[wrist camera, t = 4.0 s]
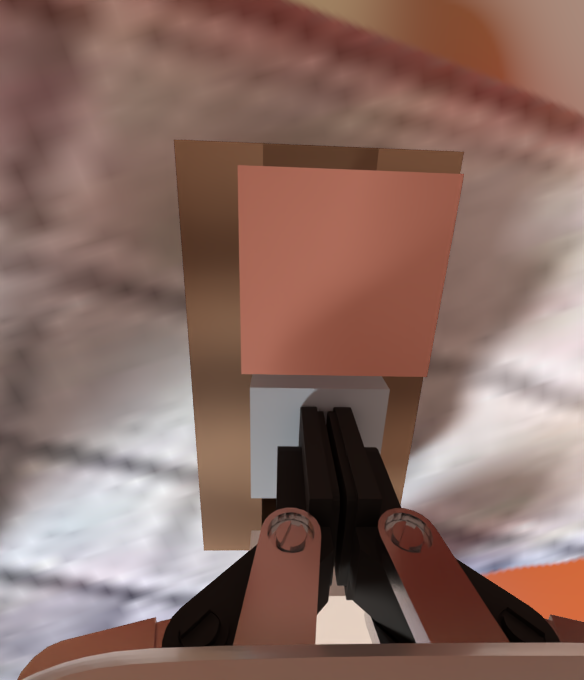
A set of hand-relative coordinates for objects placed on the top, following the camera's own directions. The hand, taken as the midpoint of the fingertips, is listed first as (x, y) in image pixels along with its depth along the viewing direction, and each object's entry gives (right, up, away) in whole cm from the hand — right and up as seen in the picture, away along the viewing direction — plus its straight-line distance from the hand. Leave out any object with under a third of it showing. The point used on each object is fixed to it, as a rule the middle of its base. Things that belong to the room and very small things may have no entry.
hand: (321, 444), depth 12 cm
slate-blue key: (0, +2, +7) cm, 7 cm away
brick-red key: (0, +7, +3) cm, 8 cm away
